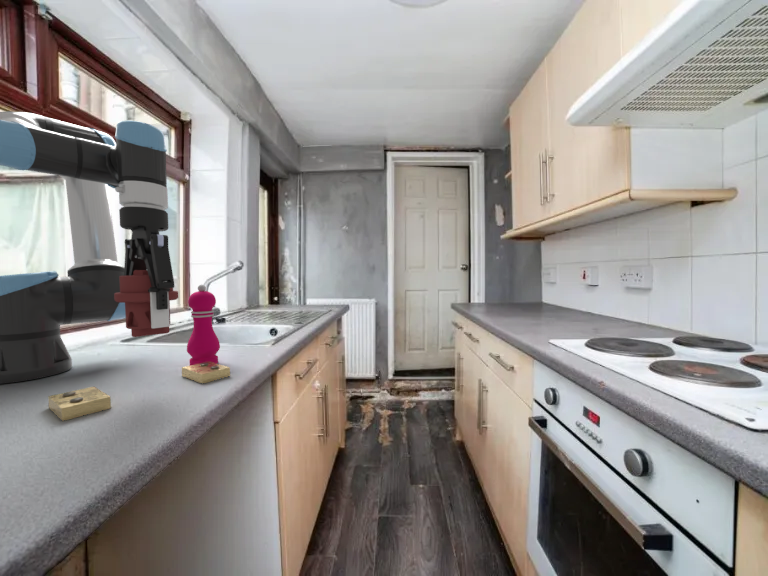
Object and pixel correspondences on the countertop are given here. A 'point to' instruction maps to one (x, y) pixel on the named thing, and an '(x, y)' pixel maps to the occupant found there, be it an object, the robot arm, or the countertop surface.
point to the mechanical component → (139, 303)
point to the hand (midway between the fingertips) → (148, 325)
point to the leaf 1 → (79, 403)
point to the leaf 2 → (205, 372)
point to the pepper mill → (202, 328)
